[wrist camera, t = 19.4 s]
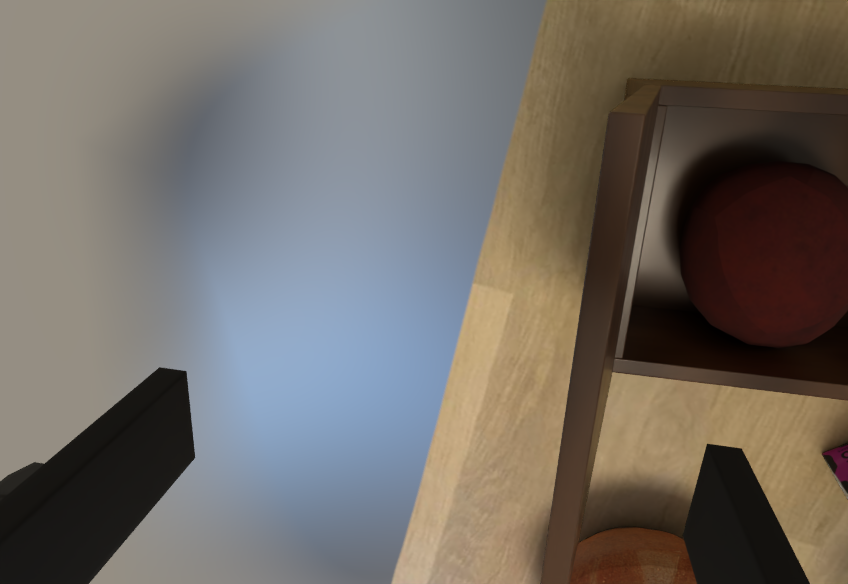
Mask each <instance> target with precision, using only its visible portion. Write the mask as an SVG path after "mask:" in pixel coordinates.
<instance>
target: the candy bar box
mask: <svg viewBox="0 0 848 584" xmlns="http://www.w3.org/2000/svg"><path fill="white" fill-rule="evenodd" d="M822 455H823V457H824V459H825V461H826V463H827V464H828V466H829V468H830V470H831V472H832V473H833V475H834V477H835V479H836V480H837V482H838V484H839V486H840V487H841V489H842V491H843V493H844V494H845V496H846V498H847V499H848V444H845V445H842V446H840V447H837V448H835V449H832V450H830V451H827V452H824V453H823V454H822Z"/></svg>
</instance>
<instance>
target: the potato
mask: <svg viewBox="0 0 848 584" xmlns="http://www.w3.org/2000/svg"><path fill="white" fill-rule="evenodd" d="M680 268H681V276H682V279H683V282H684V285H685V288H686V291H687V294H688V297H689V299H690V301H691V302H692V303H693V304H694V305H695V307H696V308H697V309H698V310H699V311H700V312H701V314H702V315H703V316H704V317H705V318H706V320H707V321H708V322H709V324H710V325H712V326H714V327H716V328H718V329H719V330H721V331H723V332H725V333H727V334H729V335H731V336H733V337H735V338H737V339H738V340H740V341H742V342H744V343H746V344H748V345H756V346H765V347H774V348H784V347H790V346H796V345H802V344H808V343H809V342H811V341H812V340H814V339H816V338H817V337H819V336H820V335H822V334H823V333H825V332H827V331H828V330H830V329H831V328H832V327H834V326H835V324H836V323H837V322H838V321H839V320H840V319H841V318H842V317H843V316H844V314H845V313H846V312H847V311H848V187H847V186H846V185H845V184H844V183H843V182H842V181H841V180H840V179H839V178H838V177H837V176H836V175H834V174H831V173H829V172H827V171H824V170H822V169H820V168H817V167H815V166H812V165H810V164H804V163H794V162H784V161H774V162H766V163H757V164H749V165H746V166H743V167H740V168H737V169H734V170H731V171H728V172H725V173H722V174H721V175H719V176H718V177H717V178H716V179H714V180H713V181H712V182H711V183H709V184H708V185H707V186H706V187H705V188H703V189H702V191H701V192H700V194H699V195H698V197H697V199H696V200H695V202H694V203H693V205H692V207H691V209H690V212H689V215H688V217H687V220H686V223H685V226H684V229H683V235H682V241H681V247H680Z"/></svg>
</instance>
